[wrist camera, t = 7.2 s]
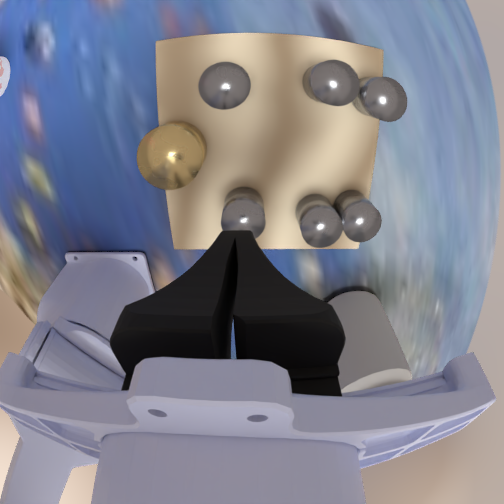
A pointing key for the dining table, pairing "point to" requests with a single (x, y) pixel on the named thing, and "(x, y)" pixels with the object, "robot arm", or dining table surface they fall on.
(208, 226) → the board
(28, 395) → the robot arm
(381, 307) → the can
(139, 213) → the dining table surface
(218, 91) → the metal pegs
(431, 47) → the dining table surface
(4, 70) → the beverage cup
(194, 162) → the gold dome
